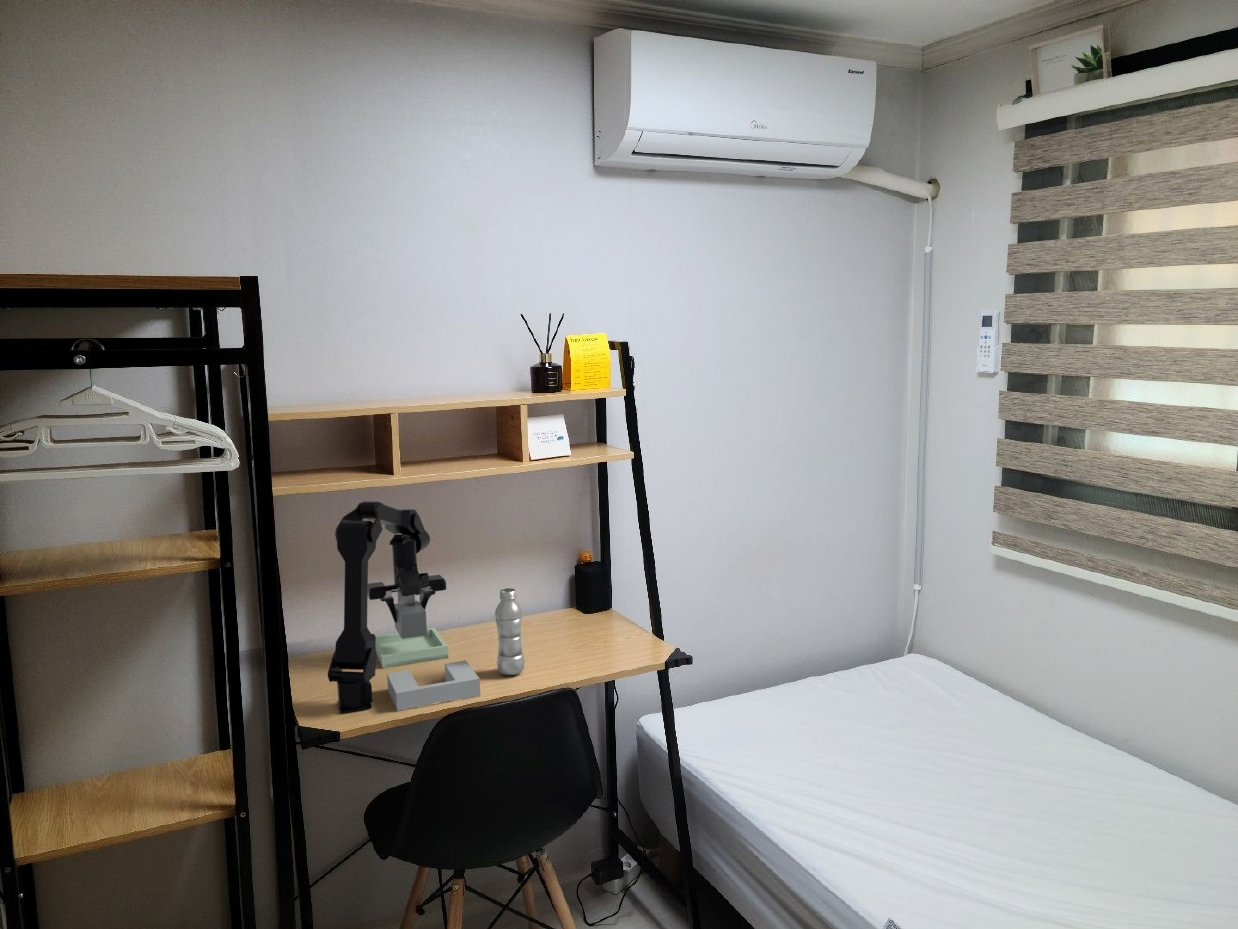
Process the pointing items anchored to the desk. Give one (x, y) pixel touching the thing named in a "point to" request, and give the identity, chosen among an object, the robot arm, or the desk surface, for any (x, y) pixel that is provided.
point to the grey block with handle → (410, 617)
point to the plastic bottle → (509, 633)
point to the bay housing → (433, 687)
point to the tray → (410, 649)
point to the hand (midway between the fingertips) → (408, 620)
